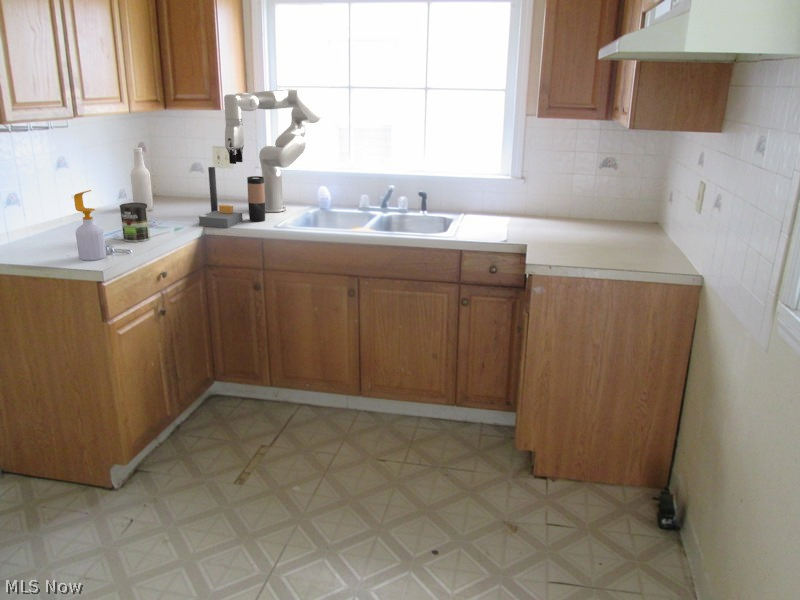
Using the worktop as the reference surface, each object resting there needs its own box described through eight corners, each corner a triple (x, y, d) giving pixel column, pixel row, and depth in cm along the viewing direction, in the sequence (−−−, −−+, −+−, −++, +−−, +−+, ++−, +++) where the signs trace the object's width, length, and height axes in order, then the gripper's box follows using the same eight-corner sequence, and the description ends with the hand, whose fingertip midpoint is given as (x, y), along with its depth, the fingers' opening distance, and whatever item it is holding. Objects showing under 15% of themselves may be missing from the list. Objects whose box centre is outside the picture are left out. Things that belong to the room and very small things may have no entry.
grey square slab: (215, 219, 300) (214, 210, 299) (242, 221, 297) (242, 212, 296) (199, 225, 288) (198, 216, 286) (227, 227, 285) (227, 218, 283)
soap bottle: (96, 261, 229) (87, 193, 221) (73, 259, 231) (63, 191, 223) (111, 255, 238) (103, 189, 230) (89, 253, 239) (80, 187, 231)
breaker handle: (221, 211, 297) (221, 204, 296) (233, 212, 296) (232, 205, 295) (219, 212, 295) (218, 205, 294) (231, 213, 294) (230, 206, 293)
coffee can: (142, 243, 256) (138, 208, 251) (118, 241, 257) (114, 206, 252) (155, 237, 266) (152, 203, 261) (132, 235, 267) (128, 201, 262)
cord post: (211, 214, 310) (208, 165, 303) (226, 215, 308) (223, 166, 301) (203, 217, 303) (199, 168, 295) (218, 219, 301) (215, 169, 293)
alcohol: (147, 212, 310) (141, 149, 301) (130, 211, 312) (123, 148, 302) (157, 208, 319) (150, 147, 309) (140, 207, 320) (133, 146, 310)
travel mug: (267, 219, 304) (266, 176, 298) (262, 222, 297) (261, 178, 290) (252, 218, 305) (250, 175, 298) (246, 221, 298) (244, 178, 291)
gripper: (235, 121, 302) (237, 160, 308) (217, 123, 287) (219, 164, 293) (250, 122, 301) (251, 161, 307) (232, 124, 285) (234, 165, 291)
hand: (236, 162), depth 300 cm, fingers open, 5 cm apart
